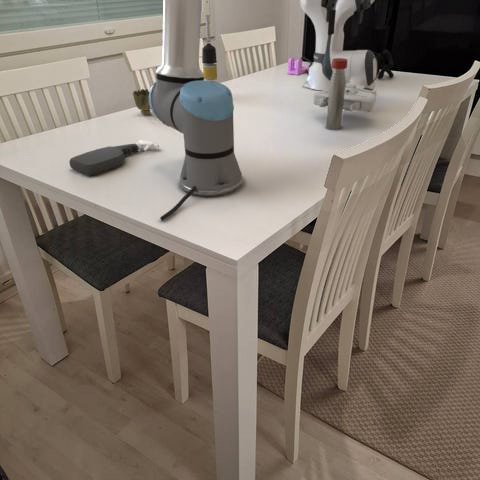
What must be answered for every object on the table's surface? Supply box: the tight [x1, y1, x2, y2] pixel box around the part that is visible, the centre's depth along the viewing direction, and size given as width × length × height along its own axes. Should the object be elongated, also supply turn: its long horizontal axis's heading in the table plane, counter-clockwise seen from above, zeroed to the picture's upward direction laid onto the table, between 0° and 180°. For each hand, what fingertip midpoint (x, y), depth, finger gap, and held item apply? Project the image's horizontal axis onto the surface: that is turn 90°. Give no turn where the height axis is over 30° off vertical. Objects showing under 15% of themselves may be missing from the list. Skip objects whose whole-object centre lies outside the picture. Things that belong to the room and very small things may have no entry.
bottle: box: [325, 69, 347, 131], centre depth 140 cm, size 5×5×20 cm
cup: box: [132, 88, 152, 116], centre depth 160 cm, size 8×7×8 cm
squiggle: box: [370, 49, 394, 80], centre depth 203 cm, size 11×10×15 cm
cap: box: [332, 58, 347, 69], centre depth 135 cm, size 4×4×2 cm
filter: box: [201, 14, 218, 82], centre depth 171 cm, size 6×6×30 cm
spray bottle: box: [68, 139, 160, 177], centre depth 124 cm, size 3×11×24 cm
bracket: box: [287, 57, 309, 76], centre depth 217 cm, size 13×6×7 cm, turn 143°
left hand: (342, 35), depth 131 cm, fingers open, 7 cm apart
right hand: (335, 106), depth 142 cm, fingers open, 8 cm apart
